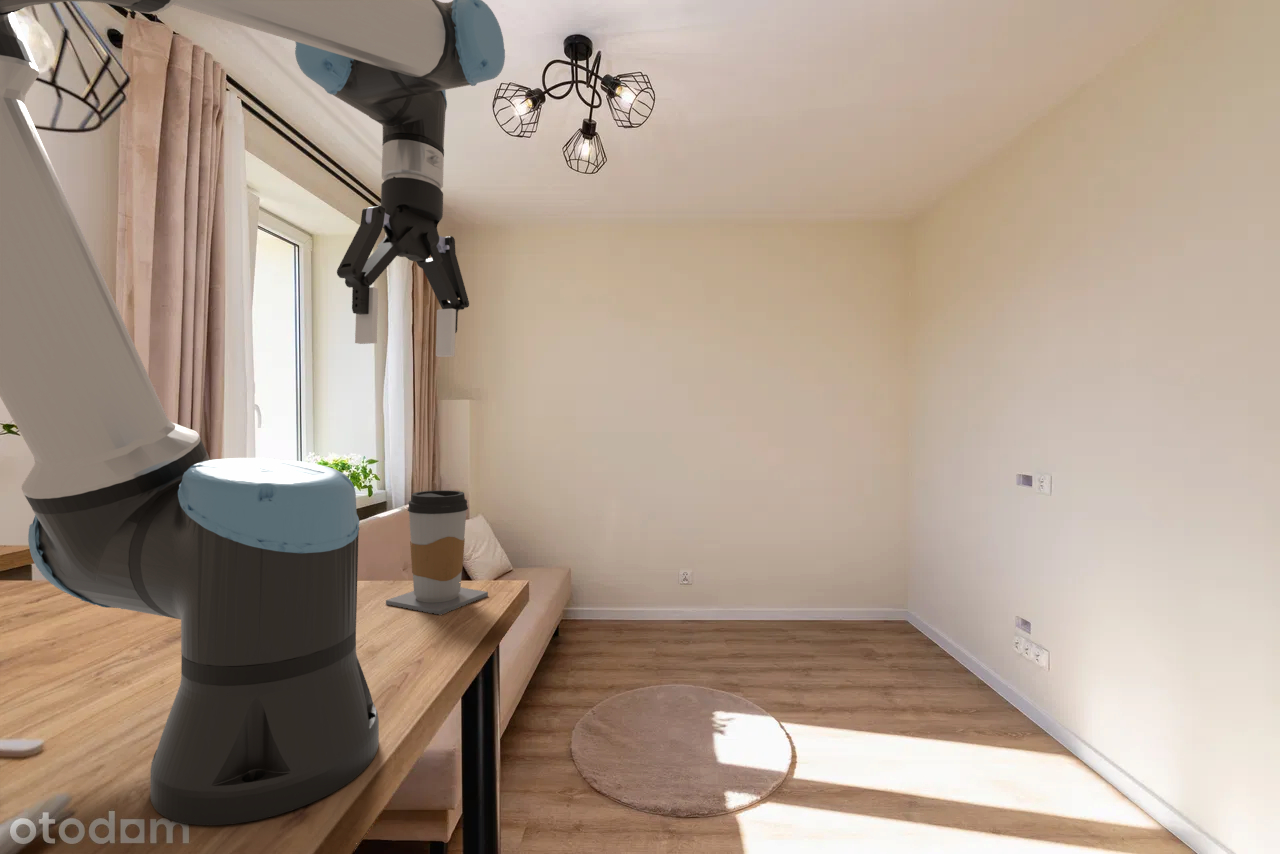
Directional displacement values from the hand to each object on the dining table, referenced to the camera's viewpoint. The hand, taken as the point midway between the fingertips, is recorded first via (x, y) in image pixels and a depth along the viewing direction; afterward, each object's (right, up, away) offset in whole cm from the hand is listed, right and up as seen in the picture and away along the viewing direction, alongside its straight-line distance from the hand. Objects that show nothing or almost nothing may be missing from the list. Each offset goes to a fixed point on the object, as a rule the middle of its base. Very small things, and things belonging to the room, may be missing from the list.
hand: (408, 350), depth 81 cm
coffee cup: (0, -35, +10) cm, 36 cm away
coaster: (0, -35, +10) cm, 37 cm away
